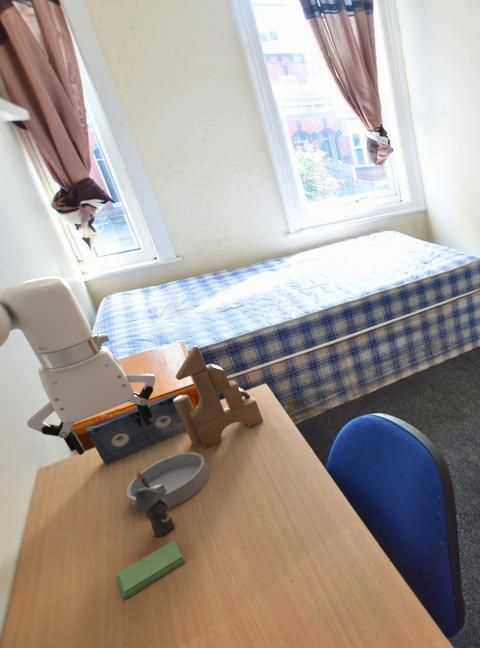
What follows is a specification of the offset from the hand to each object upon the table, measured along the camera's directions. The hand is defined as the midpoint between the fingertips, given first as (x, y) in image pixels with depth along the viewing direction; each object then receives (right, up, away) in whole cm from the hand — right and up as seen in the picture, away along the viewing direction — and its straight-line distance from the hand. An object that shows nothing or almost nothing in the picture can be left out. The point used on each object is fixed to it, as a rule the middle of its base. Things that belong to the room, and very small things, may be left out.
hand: (115, 436), depth 83 cm
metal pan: (-4, -16, +19) cm, 26 cm away
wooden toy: (-2, -9, +37) cm, 38 cm away
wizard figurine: (+2, -21, +9) cm, 23 cm away
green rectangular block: (+7, -24, 0) cm, 25 cm away
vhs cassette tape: (-21, -12, +35) cm, 43 cm away
